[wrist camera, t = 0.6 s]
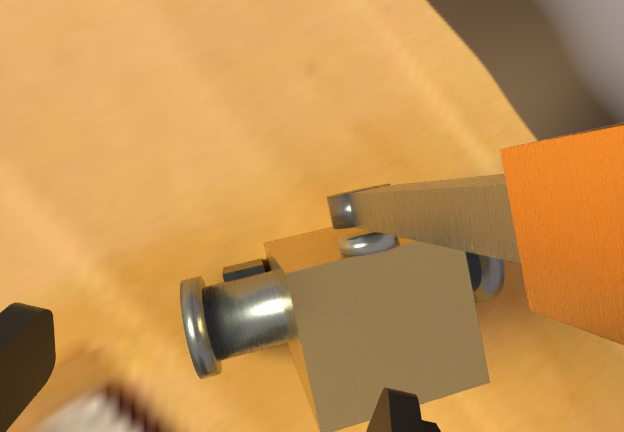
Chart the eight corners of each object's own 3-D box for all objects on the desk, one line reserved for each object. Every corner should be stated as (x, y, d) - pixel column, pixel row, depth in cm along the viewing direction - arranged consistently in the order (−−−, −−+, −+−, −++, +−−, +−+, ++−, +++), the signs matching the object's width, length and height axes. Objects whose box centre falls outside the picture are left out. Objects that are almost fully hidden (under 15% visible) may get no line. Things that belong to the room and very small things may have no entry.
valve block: (184, 250, 34) (144, 291, 19) (434, 193, 38) (571, 188, 22) (210, 358, 35) (191, 482, 19) (453, 292, 38) (600, 353, 23)
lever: (318, 184, 23) (1263, 2, 2) (375, 172, 24) (1610, -76, 2) (330, 239, 23) (1297, 629, 2) (386, 226, 24) (1615, 432, 3)
